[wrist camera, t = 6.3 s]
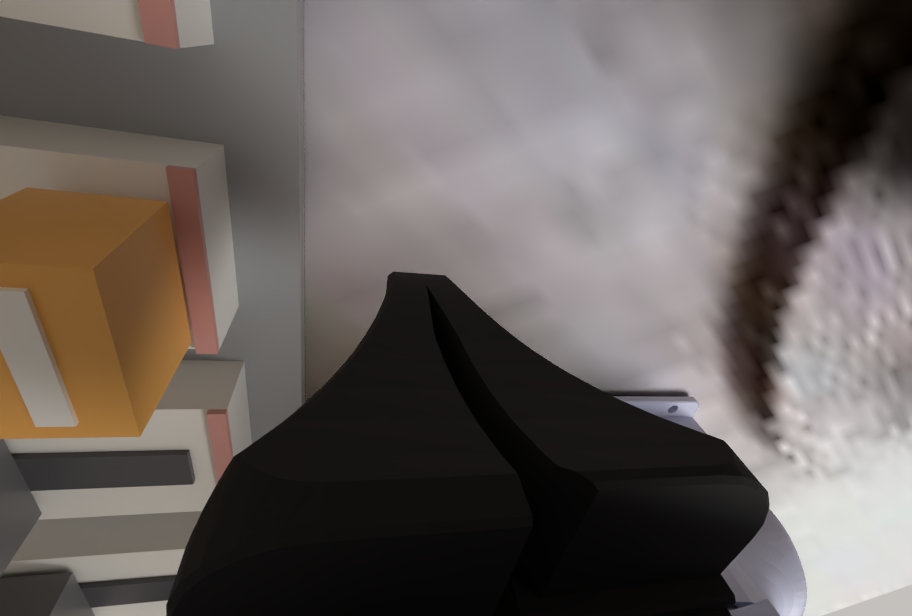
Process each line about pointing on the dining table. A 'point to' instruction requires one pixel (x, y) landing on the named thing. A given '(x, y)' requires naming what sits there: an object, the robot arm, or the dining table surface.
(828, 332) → the dining table surface
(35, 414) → the handle
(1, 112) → the breaker board
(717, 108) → the dining table surface
